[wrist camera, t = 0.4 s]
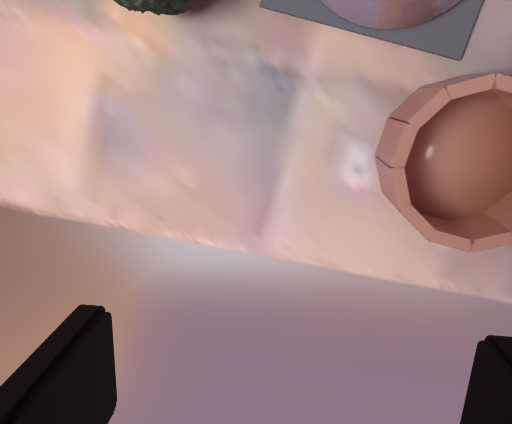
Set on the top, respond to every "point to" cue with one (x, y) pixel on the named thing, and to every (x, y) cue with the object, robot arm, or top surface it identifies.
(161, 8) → the vegetable
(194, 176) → the top surface
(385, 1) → the lid
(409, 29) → the mat
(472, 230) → the bowl
